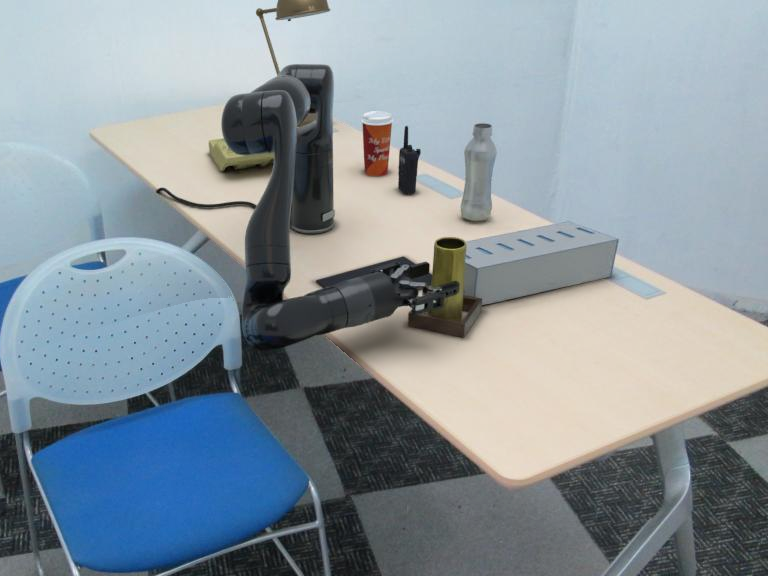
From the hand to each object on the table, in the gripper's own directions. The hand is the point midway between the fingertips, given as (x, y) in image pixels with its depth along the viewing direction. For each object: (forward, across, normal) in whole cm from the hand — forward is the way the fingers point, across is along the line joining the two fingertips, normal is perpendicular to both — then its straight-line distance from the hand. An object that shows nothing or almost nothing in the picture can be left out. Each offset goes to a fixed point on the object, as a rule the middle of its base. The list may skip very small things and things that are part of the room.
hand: (442, 276), depth 145 cm
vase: (+1, 0, +8) cm, 9 cm away
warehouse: (+23, +6, +8) cm, 25 cm away
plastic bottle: (+33, +33, +9) cm, 47 cm away
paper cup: (+31, +69, +9) cm, 76 cm away
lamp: (+34, +122, +9) cm, 128 cm away
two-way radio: (+30, +54, +9) cm, 63 cm away
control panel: (+8, +92, +9) cm, 93 cm away
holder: (+1, 0, +8) cm, 8 cm away
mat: (-1, +18, +8) cm, 20 cm away
